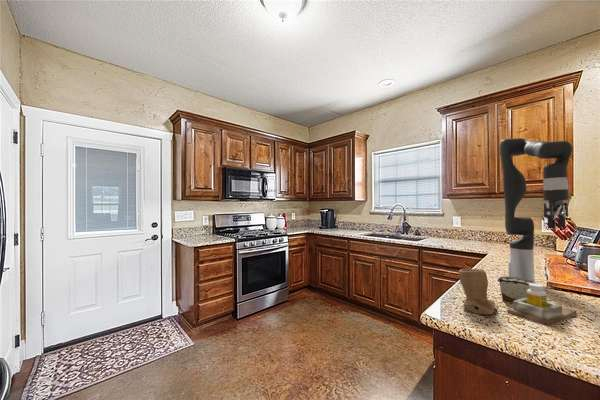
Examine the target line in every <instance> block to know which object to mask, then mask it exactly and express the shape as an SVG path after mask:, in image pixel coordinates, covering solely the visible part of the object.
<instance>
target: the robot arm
mask: <svg viewBox="0 0 600 400" xmlns="http://www.w3.org/2000/svg"><path fill="white" fill-rule="evenodd" d="M498 148H499V149H498V150H499V156H500V162H501V168H502V184H503V194H504V196H503V197H504V207H505V209H504V229H505V231H506V232H505V233H506V234H507V235H511V236H521V237H520V238H519V239H516V240H513V241H510V243H509V261H508V264H507V266H508V276H510V277H519V278H524V279H529V280H532V281H534V282H535V259H534V258H535V256H534V255H535V254H534V252H535V251H534V244H535V243H534V242H535V222H534V220H533V219H532V218H531V217H529V216H528V217H527V216H515V213H516V209H517V207H518V205H519V204H520V203H521V201H522V200H523V199H524V197H525V195H526V194H527V181H526V178H525V175H524V174H523V173H522V172H521V171H520V169H518V168H517V167H516V165H515V164H514V162H513V159H512V157H515V156H516V157H517V156H522V155H527V156H530V157H536V158H538V159H539V160H540V159H544V160H548V159H549V160H550V159H552V160H553V159H555V162H554V163H550V164H549V163H548V164H546V165H544V166H543V170H542V175H543V179H542V180H543V181H542V195H543V196H542V197H543V201H546V202H545V203H543V217H544V219H545V218H546V220H547V228H548V229H556V225H557V227H558V228H566V227H567V226H566V223H567V222H566V219H567V217H569V206H568V205H569V204H568V202H564V201H568V200H569V199H570V197H569V181H568V172H567V171H568V164H569V161H570V158H571V155H572V152H573V145H572V144H571V143H570V142H569V141H566V140H558V141H557V140H556V141H544V140H533V141H532V140H530V139H526V138H522V137H517V138H515V137H514V138H504V139H501V141H500V143H499V147H498ZM547 201H548V202H547ZM556 217H557V218H556ZM556 219H557V224H556ZM535 283H536V282H535Z"/></svg>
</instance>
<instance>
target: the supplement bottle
mask: <svg viewBox="0 0 600 400" xmlns="http://www.w3.org/2000/svg"><path fill="white" fill-rule="evenodd" d="M529 288H530V289H528V290H527V304H530V305H534V306H537V307H541V308H547V302H548V299H547V298H548V295H547V292H546V291H544V290H545V286H544V285H543V284H540V283H536V282H535V283H530V284H529Z"/></svg>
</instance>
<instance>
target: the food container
mask: <svg viewBox="0 0 600 400" xmlns="http://www.w3.org/2000/svg"><path fill="white" fill-rule="evenodd" d="M497 283H499V287H500V295H501V300H502V302H505V303H511V304H513V301H515V300H518V299H521V298H524V297H527V290H528V289H530V288H529V284H530V283H535V284H536V282H534V281H532V280H529V279H524V278H519V277H510V276H509V275H508V276H499V277H498V279H497Z"/></svg>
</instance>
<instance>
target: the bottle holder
mask: <svg viewBox="0 0 600 400" xmlns="http://www.w3.org/2000/svg"><path fill="white" fill-rule="evenodd" d="M506 312H507V313H508V314H512V315H515V316H517V317H520V318H522V319H527V320H530V321H533V322H536V323H539V324H542V325H546V326H548V327H550V326H553V325H554V324H557V323H559V322H562V321H564V320H567V319H568V318H571V317H573V316H576V315H577V313H578V311H577V310H575V309H571V308H567V307H564V306H563V305H561V304H557V303H554V302H551V301H550V302H549V301H547V308H541V307H537V306H534V305H530V304H527V297H524V298H521V299H518V300H515V301H513V303H512V307H510V308H507V310H506Z"/></svg>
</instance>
